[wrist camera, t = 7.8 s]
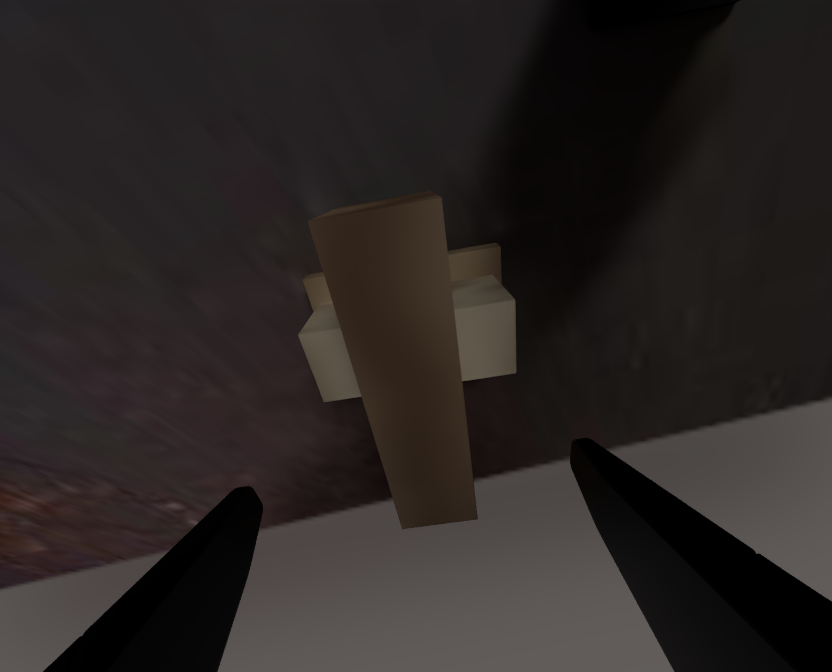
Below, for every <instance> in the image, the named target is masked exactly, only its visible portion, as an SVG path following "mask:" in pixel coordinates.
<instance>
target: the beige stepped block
mask: <svg viewBox="0 0 832 672" xmlns="http://www.w3.org/2000/svg"><path fill="white" fill-rule="evenodd" d="M448 260H449V269H450V278H451V287H452V295H453V304H454V313H455V322H456V331H457V340H458V349H459V358H460V367H461V375H462V381H468V380H475V379H481V378H488V377H494V376H501V375H508V374H514V373H516V311H515V299H514V298H513V297H512V296H511V294H510V293H509V292H508V291H507V290H506V289H505V288H504V287H503V286H502V273H501V246H500V245H498V244H497V243H491V244H485V245H479V246H473V247H467V248H461V249H456V250H450V251H448ZM303 282H304V285H305V288H306V291H307V294H308V297H309V300H310V303H311V306H312V308H313V311H314V312H313V314H312V315H311V317H310V318H309V320H308V321H307V323H306V324H305V326H304V327H303V329H302V330H301V332H300V333H299V335H298V336H299V338H300V341H301V343H302V346H303V349H304V351H305V354H306V357H307V359H308V362H309V364H310V367H311V370H312V372H313V375H314V377H315V380H316V383H317V385H318V388H319V390H320V393H321V396H322V398H323V401H324V402H329V401H335V400H342V399H349V398H355V397H362V396H361V393H360V390H359V387H358V383H357V380H356V377H355V374H354V370H353V367H352V364H351V361H350V357H349V354H348V351H347V348H346V344H345V341H344V338H343V335H342V331H341V328H340V325H339V322H338V318H337V315H336V312H335V309H334V305H333V302H332V299H331V296H330V292H329V289H328V286H327V283H326V279H325V276H324V273H323V272H321V273H315V274H309V275H307V276H306V277H305V278H304V279H303Z"/></svg>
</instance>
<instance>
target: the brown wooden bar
mask: <svg viewBox="0 0 832 672" xmlns="http://www.w3.org/2000/svg"><path fill="white" fill-rule="evenodd" d="M308 224H309V228H310V231H311V234H312V237H313V241H314V244H315V247H316V250H317V254H318V257H319V260H320V263H321V266H322V270H323V273H324V276H325V279H326V283H327V286H328V289H329V292H330V296H331V299H332V302H333V305H334V309H335V312H336V315H337V318H338V322H339V325H340V328H341V331H342V335H343V338H344V341H345V344H346V348H347V351H348V354H349V357H350V361H351V364H352V367H353V370H354V374H355V377H356V380H357V383H358V387H359V390H360V393H361V396H362V400H363V403H364V406H365V409H366V413H367V416H368V419H369V422H370V426H371V429H372V432H373V435H374V439H375V442H376V445H377V448H378V452H379V455H380V458H381V461H382V465H383V468H384V471H385V474H386V478H387V481H388V484H389V487H390V491H391V494H392V497H393V500H394V504H395V507H396V510H397V513H398V516H399V520H400V523H401V526H402V529H406V528H414V527H422V526H429V525H437V524H445V523H451V522H460V521H468V520H475V519H478V518H477V509H476V500H475V491H474V482H473V473H472V464H471V456H470V447H469V438H468V429H467V420H466V411H465V402H464V393H463V384H462V375H461V367H460V358H459V349H458V340H457V331H456V322H455V313H454V304H453V295H452V287H451V278H450V269H449V260H448V251H447V242H446V233H445V224H444V215H443V207H442V198H441V197H440V196H438V195H436V194H434V193H432V192H431V191H429V192H423V193H418V194H412V195H407V196H401V197H396V198H390V199H384V200H379V201H373V202H368V203H362V204H357V205H351V206H346V207H340V208H336V209H334V210H332V211H329V212H327V213H325V214H323V215H321V216H319V217H316V218H314V219H312V220H310V221H308Z"/></svg>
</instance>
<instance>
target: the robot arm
mask: <svg viewBox="0 0 832 672" xmlns="http://www.w3.org/2000/svg"><path fill="white" fill-rule="evenodd" d="M738 1H740V0H590V4H589V25H590V27H591V28H592V29H593V30H594V31H602V30H607V29H612V28H617V27H622V26H627V25H632V24H637V23H642V22H647V21H652V20H657V19H662V18H667V17H672V16H677V15H683V14H688V13H693V12H698V11H703V10H708V9H713V8H718V7H723V6H728V5H732V4H734V3H736V2H738ZM601 7H604V8H605V9H606V13H607V15H606V18H605V19H602V18H601V17H600V9H601ZM570 464H571V468H572V471H573V473H574V476H575V478H576V480H577V483H578V485H579V487H580V490H581V492H582V495H583V497H584V499H585V501H586V504H587V506H588V509H589V511H590V513H591V516H592V518H593V520H594V523H595V525H596V527H597V529H598V531H599V533H600V535H601V537H602V539H603V541H604V543H605V544H606V546H607V548H608V550H609V552H610V554H611V556H612V557H613V559H614V561H615V563H616V565H617V567H618V568H619V570H620V572H621V574H622V576H623V578H624V579H625V581H626V583H627V585H628V587H629V589H630V591H631V592H632V594H633V596H634V598H635V600H636V602H637V604H638V605H639V607H640V609H641V611H642V613H643V615H644V616H645V618H646V620H647V622H648V624H649V626H650V628H651V629H652V631H653V633H654V635H655V637H656V638H657V640H658V642H659V644H660V646H661V648H662V650H663V652H664V653H665V655H666V657H667V659H668V661H669V663H670V664H671V666H672V668H673V670H674V672H832V601H830V600H829V599H827V598H825V597H824V596H822V595H821V594H819V593H818V592H816V591H815V590H813V589H811V588H810V587H809V586H807V585H806V584H804V583H803V582H801V581H800V580H798V579H797V578H795V577H794V576H792V575H790V574H789V573H787V572H786V571H784V570H783V569H781V568H780V567H779V566H777V565H775V564H774V563H773V562H771V561H770V560H768V559H767V558H765V557H764V556H762V555H761V554H756V552H755V551H754V550H753V549H752V548H750V547H749V546H747V545H746V544H744V543H743V542H741V541H740V540H739V539H737V538H735V537H734V536H733V535H731V534H730V533H728V532H727V531H725V530H724V529H722V528H721V527H719V526H718V525H716V524H715V523H713V522H712V521H710V520H709V519H708V518H706V517H705V516H703V515H702V514H700V513H699V512H697V511H696V510H694V509H693V508H691V507H690V506H688V505H687V504H686V503H684V502H682V501H681V500H680V499H678V498H677V497H675V496H674V495H672V494H671V493H669V492H668V491H666V490H665V489H663V488H662V487H660V486H659V485H657V484H656V483H654V482H653V481H652V480H650V479H649V478H647V477H645V476H644V475H643V474H641V473H640V472H638V471H637V470H635V469H634V468H632V467H631V466H630V465H628V464H627V463H625V462H624V461H622V460H621V459H619V458H618V457H616V456H615V455H613V454H612V453H610V452H609V451H607V450H606V449H605V448H603V447H602V446H600V445H599V444H597V443H596V442H594V441H593V440H591V439H589V438H582V439H575V440H573V441H572V445H571V455H570ZM262 514H263V505H262V502H261V500H260V499H259V497H258V496H257V494H256V492H255V491H254V489H253V488H252V487H250V486H245V487H239V488H236V489H234V490H233V491H231V492H230V493H229V494H228V495H227V496H226V497H225V498H224V499H223V500H222V501H221V502H220V503H219V504H218V505H217V506H216V507H215V508H214V509H213V510H212V511H211V512H209V513H208V514H207V515H206V516H205V517H204V518H203V519H202V520H201V521H200V522H199V523H198V524H197V525H196V526H195V527H194V528H193V529H192V530H191V531H190V532H189V533H188V534H187V535H185V536H184V537H183V538H182V539H181V540H180V541H179V542H178V543H177V544H176V545H175V546H174V547H173V548H172V549H171V550H170V551H169V552H168V553H167V554H166V555H165V556H164V557H163V558H162V559H160V560H159V561H158V562H157V563H156V564H155V565H154V566H153V567H152V568H151V569H150V570H149V571H148V572H147V573H146V574H145V575H144V576H143V577H142V578H141V579H140V580H139V581H137V582H136V584H134V585H133V586H132V587H131V588H130V589H129V590H128V591H127V592H126V593H125V594H124V595H123V596H122V597H121V598H120V599H119V600H118V601H117V602H116V603H114V604H113V605H112V606H111V607H110V608H109V610H107V611H106V612H105V613H104V614H103V615H102V616H101V617H100V618H99V619H98V620H97V621H96V622H95V623H94V624H93V625H92V626H90V627H89V628H88V629H87V630H86V631H85V633H84V634H83V636H81V637H79V638H78V639H77V640H76V641H75V642H74V643H73V644H72V645H71V646H70V647H68V648H67V649H66V650H65V651H64V652H63V653H62V654H61V655H60V656H59V657H58V658H57V659H56V660H55V661H54V662H53V663H52V664H51V665H50V666H48V667H47V668H46V669H45V670H44V671H43V672H217V671H218V668H219V665H220V662H221V659H222V656H223V653H224V649H225V646H226V643H227V640H228V637H229V634H230V631H231V628H232V624H233V621H234V618H235V615H236V612H237V609H238V606H239V603H240V600H241V596H242V593H243V590H244V587H245V584H246V580H247V577H248V574H249V570H250V566H251V562H252V558H253V553H254V549H255V545H256V540H257V536H258V531H259V527H260V523H261V518H262Z"/></svg>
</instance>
